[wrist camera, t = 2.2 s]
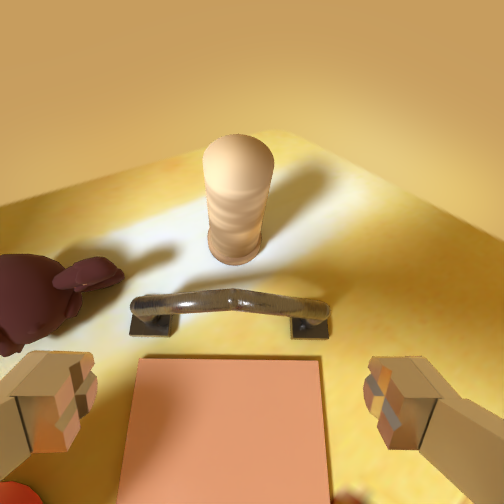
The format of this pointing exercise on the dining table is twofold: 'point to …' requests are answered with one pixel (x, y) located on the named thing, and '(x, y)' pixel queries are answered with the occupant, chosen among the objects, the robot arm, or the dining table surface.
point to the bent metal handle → (163, 306)
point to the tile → (225, 433)
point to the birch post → (236, 196)
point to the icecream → (44, 295)
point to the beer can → (17, 494)
